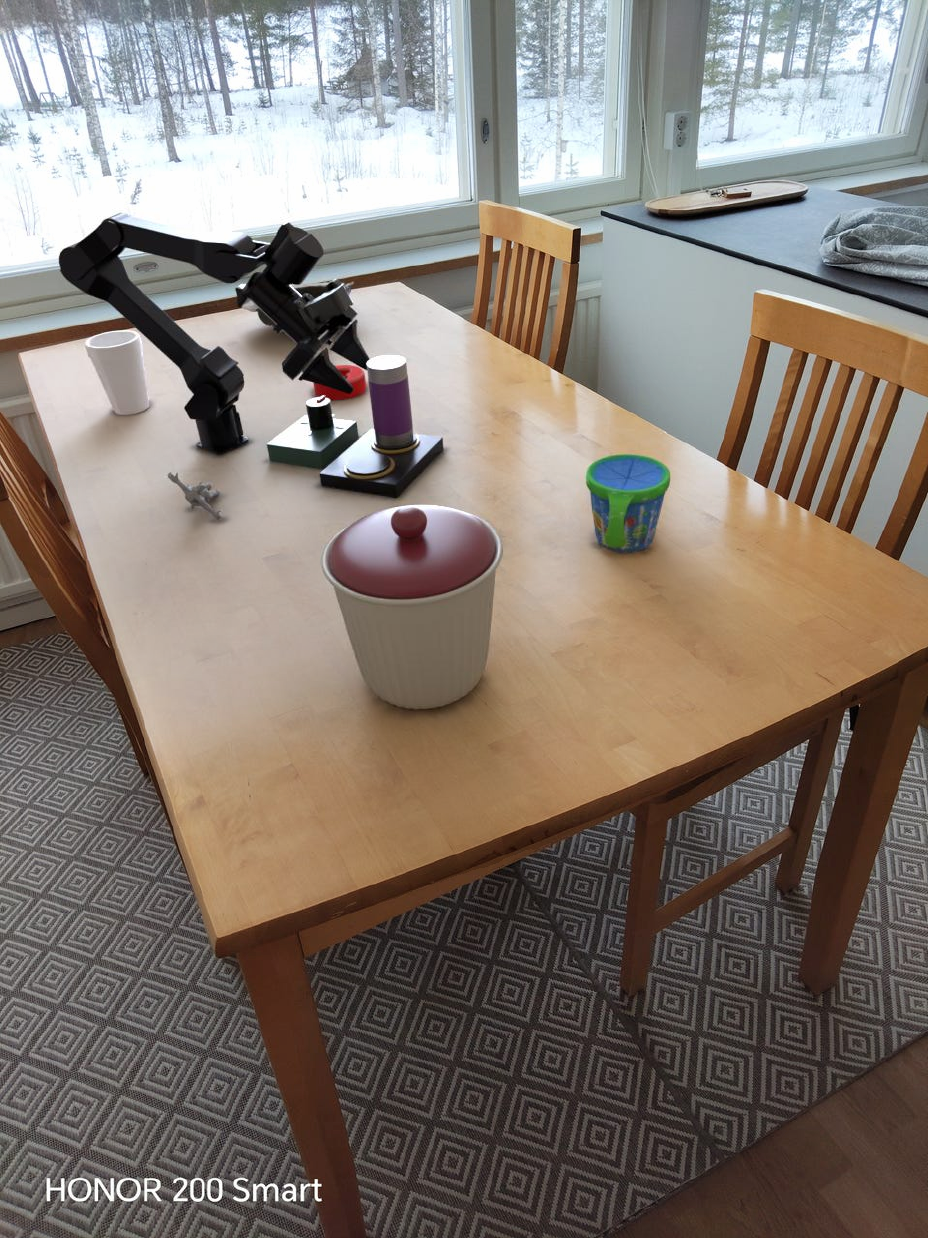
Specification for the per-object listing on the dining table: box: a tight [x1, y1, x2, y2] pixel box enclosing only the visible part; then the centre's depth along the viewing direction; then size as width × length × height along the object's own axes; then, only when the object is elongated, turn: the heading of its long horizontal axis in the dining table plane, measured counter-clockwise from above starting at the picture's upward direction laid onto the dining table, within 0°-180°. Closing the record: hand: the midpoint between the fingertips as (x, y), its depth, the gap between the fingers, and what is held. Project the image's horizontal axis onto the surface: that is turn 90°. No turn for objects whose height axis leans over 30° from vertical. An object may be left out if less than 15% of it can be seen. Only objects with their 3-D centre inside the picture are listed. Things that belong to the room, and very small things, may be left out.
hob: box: [318, 428, 445, 499], centre depth 142 cm, size 13×17×3 cm
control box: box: [266, 413, 360, 470], centre depth 149 cm, size 10×13×3 cm
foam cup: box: [83, 329, 150, 416], centre depth 165 cm, size 10×9×13 cm
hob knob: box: [305, 396, 334, 430], centre depth 149 cm, size 4×4×4 cm
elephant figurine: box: [166, 472, 224, 522], centre depth 133 cm, size 10×6×9 cm
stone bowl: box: [241, 281, 355, 327], centre depth 200 cm, size 25×25×9 cm
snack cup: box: [585, 453, 671, 554], centre depth 118 cm, size 16×10×10 cm
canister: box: [320, 504, 504, 710], centre depth 94 cm, size 18×18×21 cm
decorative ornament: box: [313, 364, 367, 401], centre depth 169 cm, size 10×10×3 cm
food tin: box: [366, 354, 414, 447], centre depth 141 cm, size 6×6×12 cm
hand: (362, 380), depth 140 cm, fingers open, 9 cm apart
